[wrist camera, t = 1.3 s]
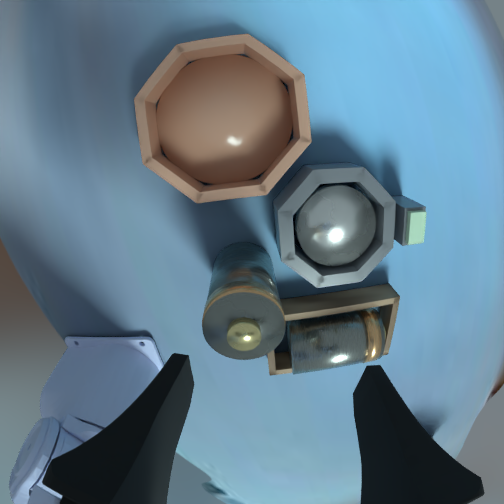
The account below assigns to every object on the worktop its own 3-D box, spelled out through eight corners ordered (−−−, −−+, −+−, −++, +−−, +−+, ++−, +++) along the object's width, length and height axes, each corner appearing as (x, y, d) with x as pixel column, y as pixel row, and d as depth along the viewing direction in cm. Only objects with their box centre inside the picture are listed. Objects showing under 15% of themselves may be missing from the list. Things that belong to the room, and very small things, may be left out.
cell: (218, 297, 20) (209, 370, 14) (208, 245, 19) (191, 306, 12) (275, 291, 20) (289, 363, 14) (270, 237, 19) (285, 296, 12)
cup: (161, 201, 18) (151, 210, 16) (142, 64, 14) (130, 56, 12) (306, 183, 17) (314, 190, 15) (291, 43, 14) (297, 31, 12)
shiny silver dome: (297, 265, 18) (299, 270, 18) (292, 187, 16) (294, 189, 16) (369, 256, 18) (373, 260, 17) (371, 181, 16) (376, 184, 15)
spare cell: (287, 347, 23) (294, 385, 19) (285, 308, 21) (293, 348, 17) (369, 334, 23) (385, 368, 19) (376, 295, 21) (397, 329, 17)
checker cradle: (278, 273, 20) (285, 300, 17) (269, 167, 17) (275, 175, 14) (398, 258, 20) (420, 279, 17) (402, 161, 17) (430, 168, 14)
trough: (267, 358, 23) (269, 375, 21) (261, 301, 21) (263, 317, 19) (379, 339, 23) (387, 354, 21) (388, 283, 21) (400, 296, 19)
